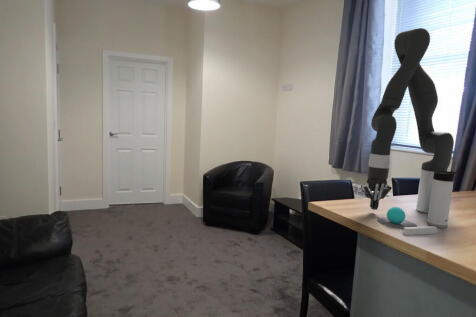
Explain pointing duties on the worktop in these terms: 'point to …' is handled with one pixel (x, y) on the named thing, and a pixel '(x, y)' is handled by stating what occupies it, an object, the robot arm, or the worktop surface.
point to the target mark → (401, 226)
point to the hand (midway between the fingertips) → (373, 209)
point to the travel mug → (440, 199)
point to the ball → (396, 215)
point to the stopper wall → (420, 230)
